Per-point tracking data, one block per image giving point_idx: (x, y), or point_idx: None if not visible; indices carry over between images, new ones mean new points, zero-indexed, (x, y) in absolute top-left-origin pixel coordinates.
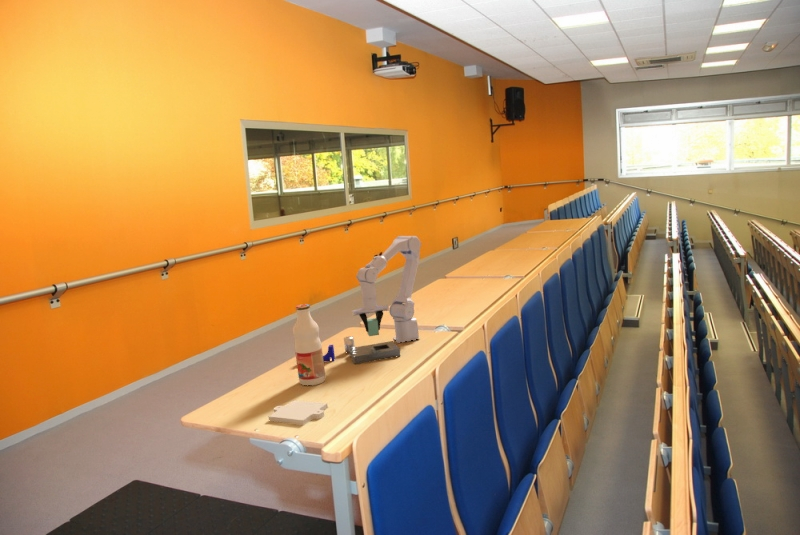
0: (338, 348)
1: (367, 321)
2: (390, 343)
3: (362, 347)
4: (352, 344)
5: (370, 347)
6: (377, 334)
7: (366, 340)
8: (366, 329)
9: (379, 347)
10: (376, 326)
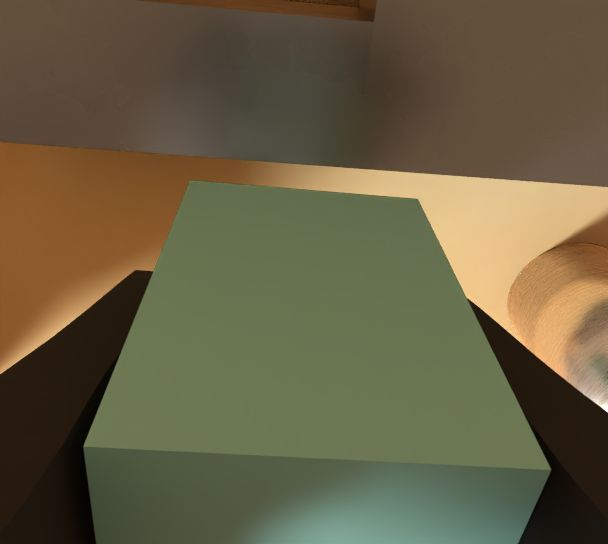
0: None
1: (526, 516)
2: (28, 6)
3: (541, 101)
4: (603, 309)
5: (431, 3)
6: (226, 188)
7: None
8: (497, 324)
9: (257, 5)
10: (205, 290)
